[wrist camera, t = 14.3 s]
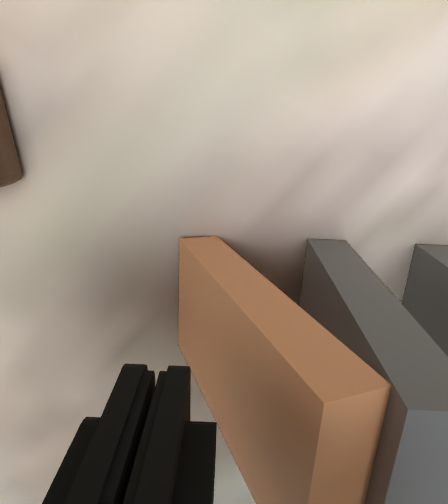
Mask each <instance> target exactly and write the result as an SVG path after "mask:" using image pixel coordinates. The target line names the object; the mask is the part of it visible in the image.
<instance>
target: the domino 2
mask: <svg viewBox="0 0 448 504" xmlns="http://www.w3.org/2000/svg"><path fill="white" fill-rule="evenodd" d="M299 307H301V308H302V309H303V310H304V311H305V312H307V313H308V314H309V315H310V316H311V317H312V318H314V319H315V320H316V321H317V322H318V323H319V324H321V325H322V326H323V327H324V328H325V329H327V330H328V331H329V332H330V333H331V334H332V335H334V336H335V337H336V338H337V339H338V340H339V341H341V342H342V343H343V344H344V345H345V346H346V347H348V348H349V349H350V350H351V351H352V352H354V353H355V354H356V355H357V356H358V357H359V358H361V359H362V360H363V361H364V362H365V363H366V364H368V365H369V366H370V367H371V368H372V369H374V370H375V371H376V372H377V373H378V374H379V375H381V376H382V377H383V378H384V379H385V380H386V381H388V382H389V383H390V384H391V389H390V394H389V398H388V403H387V407H386V411H385V416H384V420H383V424H382V429H381V433H380V437H379V442H378V446H377V451H376V455H375V459H374V464H373V468H372V472H371V477H370V481H369V485H368V490H367V494H366V499H365V503H364V504H448V356H447V355H446V354H445V353H444V352H443V351H442V350H441V348H440V347H439V346H438V345H437V344H436V343H435V342H434V340H433V339H432V338H431V337H430V336H429V335H428V334H427V332H426V331H425V330H424V329H423V328H422V327H421V326H420V324H419V323H418V322H417V321H416V320H415V319H414V318H413V316H412V315H411V314H410V313H409V312H408V311H407V310H406V308H405V307H404V306H403V305H402V304H401V303H400V302H399V300H398V299H397V298H396V297H395V296H394V295H393V294H392V292H391V291H390V290H389V289H388V288H387V287H386V286H385V284H384V283H383V282H382V281H381V280H380V279H379V278H378V277H377V275H376V274H375V273H374V272H373V271H372V270H371V269H370V267H369V266H368V265H367V264H366V263H365V262H364V261H363V259H362V258H361V257H360V256H359V255H358V254H357V253H356V251H355V250H354V249H353V248H352V247H351V246H350V245H349V243H348V242H347V241H346V240H328V239H307V247H306V255H305V263H304V271H303V279H302V287H301V295H300V304H299Z"/></svg>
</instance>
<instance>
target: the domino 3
mask: <svg viewBox="0 0 448 504" xmlns="http://www.w3.org/2000/svg"><path fill="white" fill-rule="evenodd" d="M402 305H403V306H404V307H405V308H406V310H407V311H408V312H409V313H410V314H411V315H412V316H413V318H414V319H415V320H416V321H417V322H418V323H419V324H420V326H421V327H422V328H423V329H424V330H425V331H426V332H427V334H428V335H429V336H430V337H431V338H432V339H433V340H434V342H435V343H436V344H437V345H438V346H439V347H440V348H441V350H442V351H443V352H444V353H445V354H446V355H447V356H448V245H429V244H415V248H414V252H413V257H412V262H411V266H410V271H409V275H408V280H407V284H406V289H405V293H404V298H403V302H402Z"/></svg>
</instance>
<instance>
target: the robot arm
mask: <svg viewBox="0 0 448 504" xmlns="http://www.w3.org/2000/svg"><path fill="white" fill-rule="evenodd" d="M190 378H191V371H190V366H168V370H167V371H160V373H159V376H158V379H157V383H156V387H155V372H154V371H148V369H147V365H144V364H124V365H123V367H122V369H121V372H120V374H119V376H118V379H117V381H116V383H115V386H114V388H113V390H112V393H111V395H110V397H109V400H108V402H107V404H106V407H105V409H104V411H103V414H102V416H101V418H100V417H86V418H85V419H84V420H83V421H82V423H81V425H80V427H79V429H78V431H77V433H76V435H75V437H74V439H73V441H72V443H71V445H70V447H69V449H68V451H67V453H66V455H65V457H64V460H63V462H62V464H61V466H60V468H59V470H58V472H57V474H56V476H55V478H54V480H53V482H52V484H51V486H50V488H49V490H48V492H47V495H46V497H45V499H44V501H43V503H42V504H213V498H214V478H215V455H216V427H217V422H194V421H190Z"/></svg>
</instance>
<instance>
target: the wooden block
mask: <svg viewBox="0 0 448 504" xmlns="http://www.w3.org/2000/svg"><path fill="white" fill-rule="evenodd" d="M21 172H22V171H21V167H20V163H19V159H18V155H17V151H16V147H15V143H14V140H13V136H12V132H11V128H10V124H9V120H8V116H7V112H6V108H5V105H4V101H3V97H2V93H1V89H0V187H3V186H6V185H9V184H12V183H14V182H16V181H18V180H20V178H21Z"/></svg>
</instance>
